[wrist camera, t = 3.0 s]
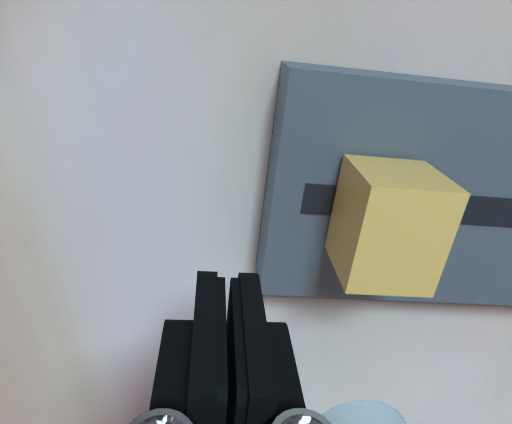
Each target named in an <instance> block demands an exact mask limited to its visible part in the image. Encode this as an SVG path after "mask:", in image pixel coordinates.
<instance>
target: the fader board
mask: <svg viewBox="0 0 512 424" xmlns="http://www.w3.org/2000/svg"><path fill="white" fill-rule="evenodd" d="M344 154H350V155H361V156H373V157H385V158H397V159H409V160H421V161H426V162H427V163H429V164H430V165H431V166H433V167H434V168H436V169H437V170H438V171H440V172H441V173H442V174H444V175H445V176H447V177H448V178H449V179H451V180H452V181H454V182H455V183H456V184H458V185H459V186H460V187H462V188H463V189H465V190H466V191H467V192H469V193H470V194H471V195H470V197H469V200H468V203H467V206H466V208H465V211H464V214H463V217H462V219H461V222H460V225H459V228H458V230H457V233H456V236H455V239H454V241H453V244H452V247H451V250H450V252H449V255H448V258H447V261H446V263H445V266H444V269H443V272H442V274H441V277H440V280H439V283H438V285H437V288H436V291H435V293H434V296H433V298H428V297H405V296H383V295H361V294H345V292H344V290H343V287H342V285H341V283H340V280H339V278H338V276H337V274H336V271H335V269H334V267H333V264H332V262H331V260H330V257H329V255H328V253H327V251H326V248H325V242H326V237H327V233H328V228H329V223H330V218H331V213H332V208H333V204H334V199H335V194H336V189H337V184H338V180H339V175H340V170H341V165H342V160H343V156H344ZM256 270H257V273H258V274H259V277H260V283H261V289H262V295H278V296H301V297H324V298H347V299H370V300H392V301H415V302H438V303H461V304H484V305H507V306H512V86H510V85H500V84H491V83H482V82H473V81H463V80H454V79H445V78H436V77H426V76H417V75H408V74H399V73H389V72H380V71H371V70H362V69H352V68H343V67H334V66H325V65H315V64H306V63H297V62H287V61H282V62H281V70H280V78H279V85H278V93H277V101H276V109H275V117H274V125H273V133H272V141H271V149H270V157H269V165H268V173H267V181H266V189H265V196H264V204H263V212H262V220H261V228H260V236H259V244H258V252H257V260H256Z"/></svg>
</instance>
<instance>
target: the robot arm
mask: <svg viewBox="0 0 512 424" xmlns="http://www.w3.org/2000/svg"><path fill="white" fill-rule="evenodd" d="M130 424H332V423H330V422H329V421H328V420H327V419H326V418H325V417H324V416H322V415H321V414H319V413H317V412H315V411H312V410H309V409H306V407H305V403H304V398H303V394H302V389H301V384H300V380H299V375H298V371H297V366H296V362H295V357H294V353H293V348H292V344H291V339H290V335H289V330H288V327H287V324H286V323H283V322H267V321H266V315H265V308H264V302H263V296H262V289H261V283H260V277H259V274H258V273H239V274H238V278H231V281H230V291H229V301H228V311H227V322H226V295H225V277H217V272H209V271H198V272H197V284H196V297H195V310H194V320H165V322H164V327H163V333H162V338H161V344H160V350H159V356H158V362H157V367H156V373H155V379H154V385H153V391H152V397H151V402H150V408H149V411H147V412H145V413H143V414H141V415H139V416H138V417H136V418H135V419H134V420H133V421H132V422H131V423H130Z"/></svg>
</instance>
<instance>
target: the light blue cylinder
mask: <svg viewBox="0 0 512 424" xmlns="http://www.w3.org/2000/svg"><path fill="white" fill-rule="evenodd" d="M322 416H324V417H325V418H326V419H327V420H328V421H329V422H330V423H332V424H406V423H405V421H404V419H403V417H402V415H401V414H400V412H399V411H398V410H396V409H395V408H394V407H392V406H390V405H388V404H385V403H382V402H378V401H369V400H363V401H354V402H349V403H345V404H342V405H339V406H336V407H334V408H332V409H330V410H328V411H327V412H325V413H324V414H322Z"/></svg>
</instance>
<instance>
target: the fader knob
mask: <svg viewBox="0 0 512 424" xmlns="http://www.w3.org/2000/svg"><path fill="white" fill-rule="evenodd" d="M470 195H471V194H470V193H469V192H467V191H466V190H465V189H463V188H462V187H460V186H459V185H458V184H456V183H455V182H454V181H452V180H451V179H449V178H448V177H447V176H445V175H444V174H442V173H441V172H440V171H438V170H437V169H436V168H434V167H433V166H431V165H430V164H429V163H427V162H426V161H421V160H409V159H397V158H385V157H373V156H361V155H350V154H344V156H343V160H342V165H341V170H340V175H339V180H338V184H337V189H336V194H335V199H334V204H333V208H332V213H331V218H330V223H329V228H328V233H327V237H326V242H325V248H326V251H327V253H328V255H329V257H330V260H331V262H332V264H333V267H334V269H335V271H336V274H337V276H338V278H339V280H340V283H341V285H342V287H343V290H344V292H345V294H361V295H383V296H405V297H428V298H433V296H434V293H435V291H436V288H437V285H438V283H439V280H440V277H441V274H442V272H443V269H444V266H445V263H446V261H447V258H448V255H449V252H450V250H451V247H452V244H453V241H454V239H455V236H456V233H457V230H458V228H459V225H460V222H461V219H462V217H463V214H464V211H465V208H466V206H467V203H468V200H469V197H470Z"/></svg>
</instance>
